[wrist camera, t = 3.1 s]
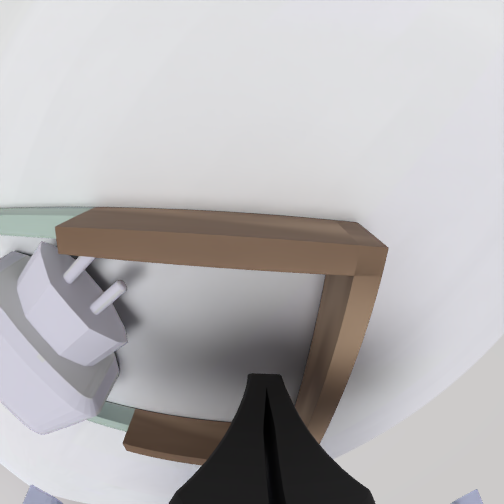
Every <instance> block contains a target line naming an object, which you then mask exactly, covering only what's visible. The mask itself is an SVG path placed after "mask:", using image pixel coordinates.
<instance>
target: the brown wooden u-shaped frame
mask: <svg viewBox="0 0 504 504" xmlns="http://www.w3.org/2000/svg"><path fill="white" fill-rule="evenodd" d="M55 233H56V241H57V247H58V254H64V255H74V256H85V257H95V258H106V259H117V260H128V261H140V262H152V263H164V264H177V265H190V266H203V267H216V268H231V269H245V270H260V271H276V272H292V273H310V274H326V276H325V281H324V286H323V292H322V297H321V302H320V306H319V311H318V316H317V321H316V325H315V330H314V334H313V338H312V343H311V347H310V351H309V355H308V359H307V363H306V367H305V371H304V375H303V379H302V383H301V386H300V390H299V394H298V397H297V401H296V404H295V408H296V410H297V412H298V414H299V416H300V417H301V419H302V421H303V422H304V424H305V425H306V427H307V428H308V430H309V431H310V433H311V434H312V436H313V437H314V438H315V440H316V441H317V442H318V443H319V444H320V442H321V440H322V438H323V436H324V434H325V432H326V430H327V428H328V426H329V423H330V421H331V419H332V417H333V415H334V413H335V410H336V408H337V406H338V403H339V401H340V399H341V396H342V394H343V392H344V389H345V387H346V384H347V382H348V379H349V377H350V374H351V372H352V369H353V366H354V364H355V361H356V358H357V356H358V353H359V350H360V347H361V344H362V341H363V338H364V335H365V332H366V329H367V326H368V323H369V320H370V317H371V313H372V310H373V307H374V303H375V300H376V296H377V293H378V289H379V285H380V281H381V277H382V274H383V270H384V265H385V261H386V257H387V253H388V247H387V246H386V245H384V244H383V243H382V242H381V241H380V240H378V239H377V238H376V237H375V236H374V235H372V234H371V233H370V232H369V231H367V230H366V229H365V228H364V227H363V226H361V225H360V224H359V223H356V222H347V221H337V220H326V219H316V218H304V217H293V216H280V215H267V214H253V213H238V212H221V211H203V210H182V209H156V208H118V207H94V208H92V209H90V210H88V211H86V212H84V213H82V214H79V215H77V216H75V217H73V218H71V219H69V220H67V221H65V222H63V223H61V224H59V225H57V226H55ZM230 424H231V422H219V421H209V420H200V419H192V418H185V417H178V416H172V415H166V414H160V413H155V412H149V411H144V410H140V409H135V411H134V414H133V416H132V419H131V422H130V424H129V427H128V430H127V432H126V435H125V438H124V441H123V445H124V447H125V449H126V450H127V451H130V452H134V453H138V454H142V455H146V456H151V457H155V458H160V459H165V460H171V461H176V462H182V463H189V464H196V465H203V464H204V463H205V462H206V460H207V459H208V458H209V457H210V455H211V454H212V453H213V451H214V450H215V448H216V447H217V446H218V444H219V443H220V441H221V440H222V438H223V437H224V435H225V433H226V432H227V430H228V428H229V426H230Z"/></svg>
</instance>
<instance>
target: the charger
mask: <svg viewBox="0 0 504 504" xmlns="http://www.w3.org/2000/svg"><path fill="white" fill-rule="evenodd" d="M94 259H95V257H85V256H79V257H78V258H77V259H76V260H75V259H74V258H72V257H71V256H69V255H64V254H58V247H56V246H55V245H52V244H49V243H46V242H42V241H41V243H40V244H39V246H38V247H37V249H36V250H35V252H34V253H33V255H32V256H28V255H25V254H22V253H19V252H16V251H14V252H10V253H9V254H7V255H5V256H4V257H2V258H1V259H0V402H1V403H2V404H3V405H4V406H5V407H6V408H7V409H8V410H9V411H10V412H11V413H12V414H13V415H14V416H15V417H16V418H18V419H19V420H20V421H21V422H22V423H23V424H24V425H25V426H27V427H28V428H29V429H30V430H32V431H34V432H36V433H38V434H48V433H51V432H54V431H57V430H60V429H63V428H66V427H68V426H71V425H74V424H77V423H79V422H82V421H85V420H87V419H90V418H92V417H95V416H97V415H98V414H99V413H100V412H101V410H102V408H103V406H104V404H105V402H106V399H107V397H108V395H109V393H110V391H111V389H112V387H113V385H114V383H115V381H116V379H117V377H118V376H119V368H118V365H117V361H116V357H115V354H114V351H116V350H117V349H119V348H120V347H122V346H123V345H125V344H126V343H128V340H127V335H126V330H125V327H124V325H123V323H122V321H121V319H120V317H119V315H118V313H117V311H116V309H115V307H114V305H113V302H114V301H115V300H116V299H117V298H118V297H120V296H121V295H122V294H123V293H124V292H125V291H127V286H126V284H125V282H124V281H122V280H117V281H116V282H115V283H114V284H113V285H111V286H110V287H109V288H108V289H107V290H106V291H105V292H103V290H102V289H101V288H100V287H99V286H98V285H97V283H96V282H95V281H94V280H93V279H92V278H91V276H90V275H89V274H88V273H87V272H86V270H85V269H86V268H87V266H88V265H89V264H90V263H91V262H92V261H93V260H94Z"/></svg>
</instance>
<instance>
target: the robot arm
mask: <svg viewBox="0 0 504 504" xmlns="http://www.w3.org/2000/svg"><path fill="white" fill-rule="evenodd" d="M23 504H63V503H62V502H61V501H60V500H58V499H57V498H55V497H53V496H51V495H50V494H48V493H46V492H44V491H42V490H41V489H39V488H37V487H35V486H34V485H30V488H29V490H28V492H27V495H26V497H25V499H24V502H23ZM169 504H375V501H374V499H373V496H372V494H371V492H370V490H369V489H368V488H366V487H365V486H363V485H362V484H360V483H359V482H358V481H356V480H355V479H354V478H353V477H351V476H350V475H349V474H348V473H347V472H345V471H344V470H343V469H342V468H341V467H340V466H339V465H338V464H337V463H336V462H335V461H334V460H333V459H332V458H331V457H330V456H329V455H328V454H327V453H326V452H325V451H324V449H323V448H322V447H321V446H320V445H319V443H318V442H317V441H316V440H315V438H314V437H313V436H312V434H311V433H310V431H309V430H308V428H307V427H306V425H305V424H304V422H303V421H302V419H301V417H300V416H299V414H298V412H297V410H296V408H295V406H294V405H293V403H292V401H291V399H290V396H289V394H288V392H287V390H286V387H285V385H284V382H283V379H282V376H281V375H280V374H254V373H250V374H249V375H248V379H247V385H246V389H245V392H244V395H243V398H242V401H241V403H240V406H239V408H238V410H237V413H236V415H235V417H234V419H233V421H232V423H231V424H230V426H229V428H228V430H227V432H226V433H225V435H224V437H223V438H222V440H221V441H220V443H219V444H218V446H217V447H216V448H215V450H214V451H213V453H212V454H211V455H210V457H209V458H208V459H207V460H206V462H205V463H204V464H203V465H202V466H201V467H200V468H199V470H198V471H197V472H196V473H195V474H194V475H193V476H192V477H191V478H190V479H189V480H188V481H187V482H186V483H185V484H184V485H183V486H182V487H181V488H179V489H178V490H177V491H176V493H175V494H174V496H173V497H172V499H171V501H170V502H169ZM451 504H483V502H482V500H481V497H480V495H479V492H478V490H477V489H476V490H474V491H472V492H470V493H468V494H466V495H464V496H462V497H461V498H459V499H457V500H456V501H454V502H452V503H451Z"/></svg>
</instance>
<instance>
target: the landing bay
mask: <svg viewBox="0 0 504 504" xmlns="http://www.w3.org/2000/svg"><path fill="white" fill-rule="evenodd" d="M92 208H94V207H29V208H0V235H7V236H22V237H37V238H52V239H56V233H55V226H57V225H59V224H61V223H63V222H65V221H67V220H69V219H71V218H73V217H75V216H77V215H79V214H82V213H84V212H86V211H88V210H90V209H92ZM134 411H135V408H131V407H126V406H122V405H118V404H114V403H110V402H107V401H106V402H105V404H104V406H103V408H102V410H101V412H100V413H99V414H98V415H97V416H95V417H92V418H90V419H87V420H88V421H91V422H94V423H97V424H101V425H104V426H107V427H111V428H114V429H118V430H122V431H125V432H127V430H128V427H129V424H130V422H131V419H132V416H133V414H134Z"/></svg>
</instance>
